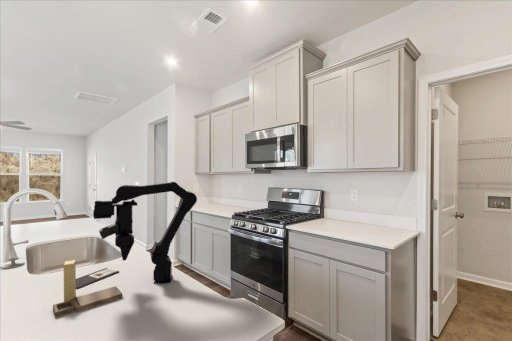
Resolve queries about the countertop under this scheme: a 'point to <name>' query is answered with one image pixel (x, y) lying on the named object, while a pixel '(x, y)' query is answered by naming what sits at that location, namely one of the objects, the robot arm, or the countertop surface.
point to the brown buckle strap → (87, 301)
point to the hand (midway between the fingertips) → (124, 256)
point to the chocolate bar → (94, 277)
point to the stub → (69, 280)
